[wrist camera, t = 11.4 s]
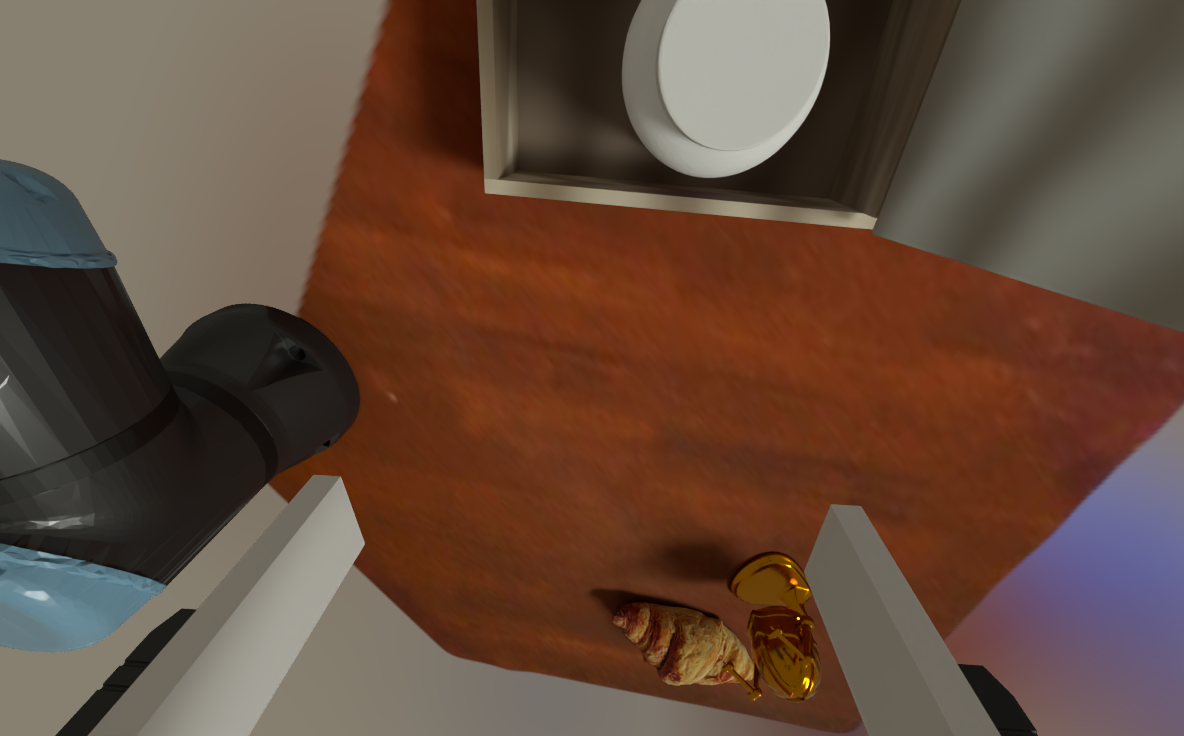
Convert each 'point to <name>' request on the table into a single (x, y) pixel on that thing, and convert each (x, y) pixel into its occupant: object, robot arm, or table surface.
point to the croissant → (683, 643)
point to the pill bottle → (722, 79)
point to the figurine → (778, 627)
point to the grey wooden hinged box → (896, 134)
